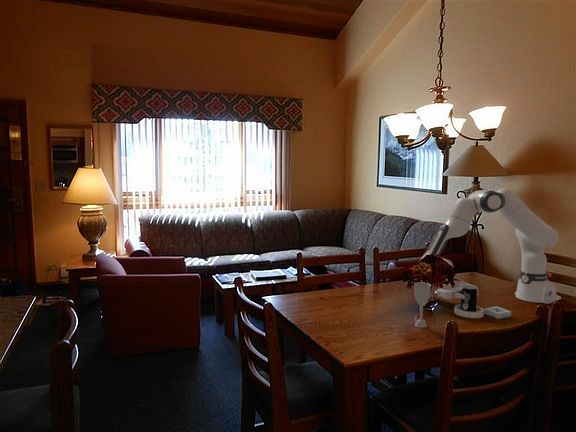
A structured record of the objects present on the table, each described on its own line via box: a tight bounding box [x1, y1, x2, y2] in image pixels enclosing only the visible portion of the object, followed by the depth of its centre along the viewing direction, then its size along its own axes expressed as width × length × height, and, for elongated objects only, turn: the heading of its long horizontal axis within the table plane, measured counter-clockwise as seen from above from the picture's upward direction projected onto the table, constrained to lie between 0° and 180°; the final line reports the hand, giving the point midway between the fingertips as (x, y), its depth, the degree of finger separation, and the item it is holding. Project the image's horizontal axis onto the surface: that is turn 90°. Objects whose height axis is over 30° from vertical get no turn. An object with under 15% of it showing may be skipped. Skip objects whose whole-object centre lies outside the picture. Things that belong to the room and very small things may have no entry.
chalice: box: [413, 281, 431, 328], centre depth 188 cm, size 7×7×18 cm
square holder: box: [483, 305, 512, 320], centre depth 202 cm, size 8×8×2 cm
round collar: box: [453, 303, 485, 319], centre depth 204 cm, size 12×12×2 cm
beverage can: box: [460, 284, 478, 312], centre depth 204 cm, size 7×7×12 cm
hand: (471, 296), depth 202 cm, fingers closed on beverage can, 6 cm apart
